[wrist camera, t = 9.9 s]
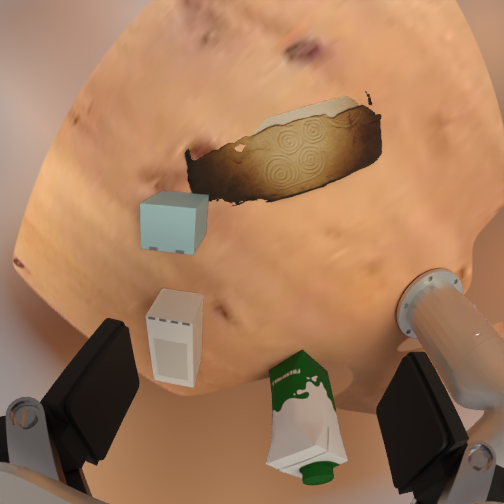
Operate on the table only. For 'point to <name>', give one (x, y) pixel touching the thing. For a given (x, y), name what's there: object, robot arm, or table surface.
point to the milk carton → (304, 421)
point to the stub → (173, 222)
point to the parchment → (291, 153)
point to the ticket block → (175, 336)
